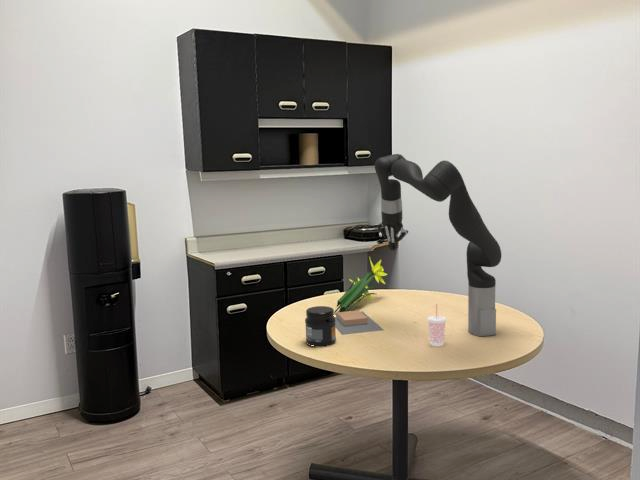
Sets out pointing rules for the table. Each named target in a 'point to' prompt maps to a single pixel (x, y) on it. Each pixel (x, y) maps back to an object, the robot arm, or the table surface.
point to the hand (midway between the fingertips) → (393, 249)
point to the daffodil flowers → (360, 288)
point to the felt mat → (357, 327)
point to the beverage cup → (436, 329)
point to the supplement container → (320, 326)
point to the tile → (352, 318)
